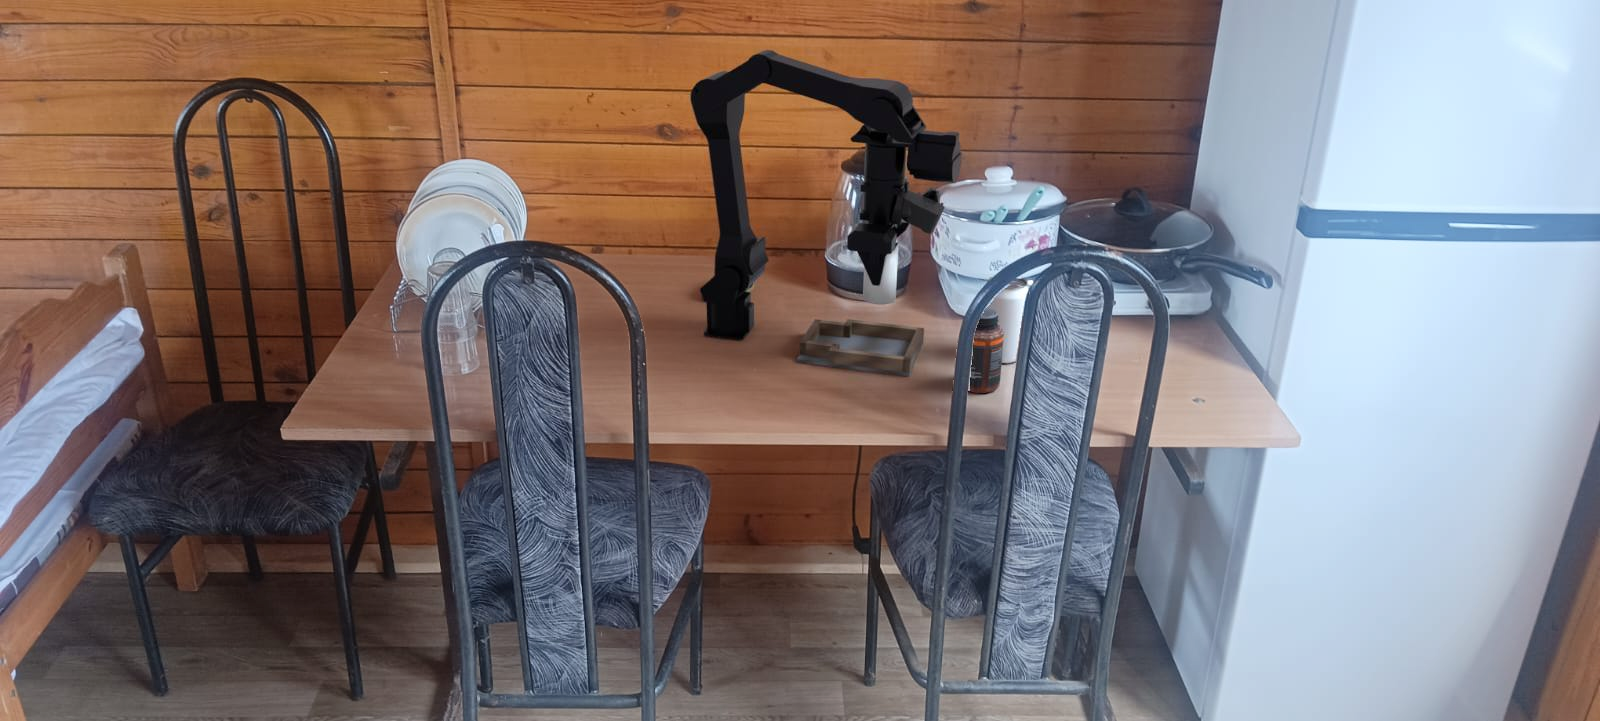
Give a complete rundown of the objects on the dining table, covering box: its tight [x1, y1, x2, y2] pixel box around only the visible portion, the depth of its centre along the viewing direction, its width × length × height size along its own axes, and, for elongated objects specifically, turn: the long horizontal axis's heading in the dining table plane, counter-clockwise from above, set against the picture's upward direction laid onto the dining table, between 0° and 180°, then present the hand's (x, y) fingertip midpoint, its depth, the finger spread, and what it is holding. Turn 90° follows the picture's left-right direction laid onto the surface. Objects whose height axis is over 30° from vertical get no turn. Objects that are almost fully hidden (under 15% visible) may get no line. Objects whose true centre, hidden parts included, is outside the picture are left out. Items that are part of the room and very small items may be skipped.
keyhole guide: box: [796, 318, 925, 377], centre depth 173 cm, size 17×12×3 cm
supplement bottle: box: [969, 308, 1004, 394], centre depth 161 cm, size 6×6×11 cm
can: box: [987, 275, 1029, 365], centre depth 170 cm, size 6×6×12 cm
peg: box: [862, 245, 899, 306], centre depth 167 cm, size 5×5×8 cm
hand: (879, 279), depth 168 cm, fingers closed on peg, 5 cm apart
